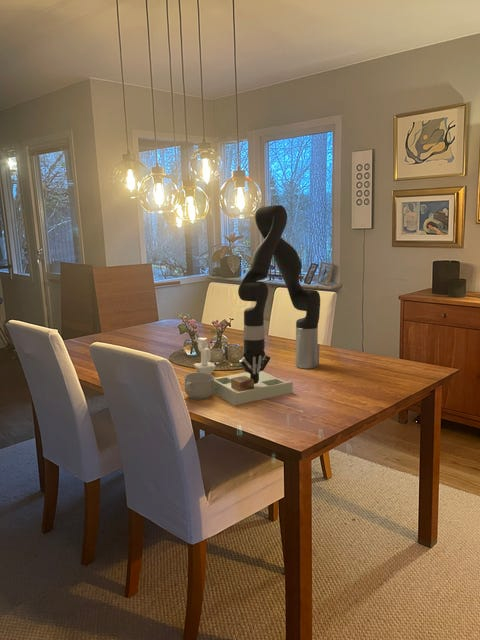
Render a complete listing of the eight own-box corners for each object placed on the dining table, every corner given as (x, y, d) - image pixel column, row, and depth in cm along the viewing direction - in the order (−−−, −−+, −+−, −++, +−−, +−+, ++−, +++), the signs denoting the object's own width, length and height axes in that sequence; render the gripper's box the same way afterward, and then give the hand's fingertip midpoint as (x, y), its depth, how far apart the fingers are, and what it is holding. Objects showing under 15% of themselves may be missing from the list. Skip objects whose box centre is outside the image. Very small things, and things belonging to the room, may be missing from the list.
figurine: (200, 377, 217) (199, 341, 214) (192, 371, 225) (191, 336, 222) (217, 375, 220) (216, 339, 217) (208, 369, 228) (207, 335, 225)
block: (245, 384, 198) (245, 375, 197) (254, 389, 193) (254, 379, 192) (231, 387, 195) (231, 378, 194) (239, 392, 189) (239, 382, 189)
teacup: (199, 390, 201) (198, 369, 200) (221, 396, 194) (220, 375, 193) (172, 400, 191) (171, 379, 189) (194, 407, 184) (193, 384, 182)
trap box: (259, 376, 217) (258, 364, 216) (293, 393, 197) (293, 379, 196) (204, 387, 205) (203, 374, 204) (234, 405, 185) (234, 391, 184)
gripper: (263, 332, 198) (264, 377, 202) (232, 337, 192) (233, 383, 195) (275, 336, 192) (275, 382, 196) (243, 341, 185) (244, 389, 189)
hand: (254, 383), depth 195 cm, fingers closed
